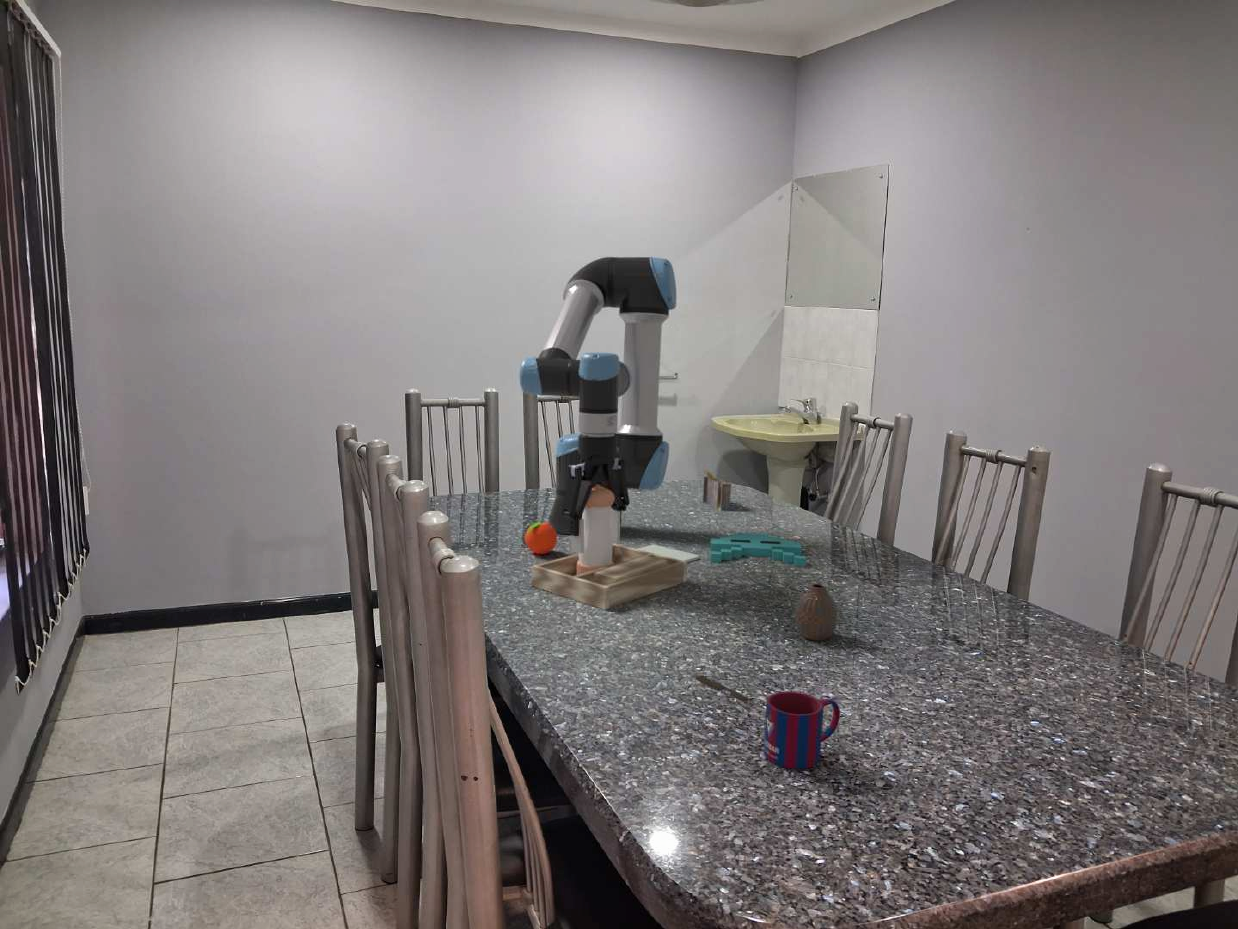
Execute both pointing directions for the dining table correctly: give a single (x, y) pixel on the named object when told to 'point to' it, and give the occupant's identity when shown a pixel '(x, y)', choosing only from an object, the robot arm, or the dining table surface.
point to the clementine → (541, 538)
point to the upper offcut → (628, 570)
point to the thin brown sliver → (721, 688)
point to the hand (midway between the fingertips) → (595, 546)
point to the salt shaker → (596, 531)
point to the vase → (816, 613)
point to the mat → (670, 553)
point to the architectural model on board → (716, 492)
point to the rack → (582, 588)
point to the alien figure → (756, 548)
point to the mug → (796, 729)
